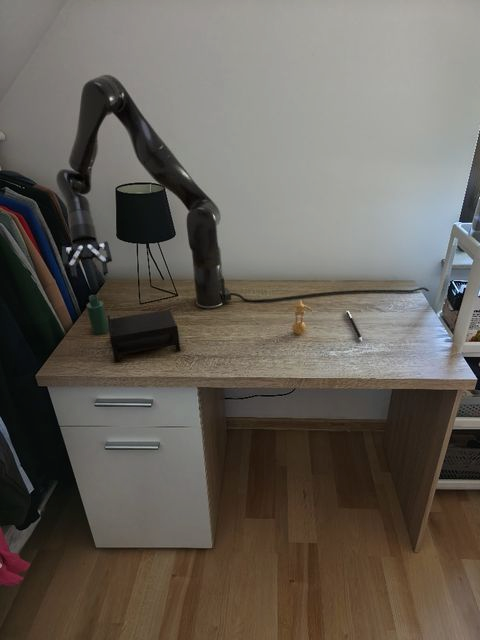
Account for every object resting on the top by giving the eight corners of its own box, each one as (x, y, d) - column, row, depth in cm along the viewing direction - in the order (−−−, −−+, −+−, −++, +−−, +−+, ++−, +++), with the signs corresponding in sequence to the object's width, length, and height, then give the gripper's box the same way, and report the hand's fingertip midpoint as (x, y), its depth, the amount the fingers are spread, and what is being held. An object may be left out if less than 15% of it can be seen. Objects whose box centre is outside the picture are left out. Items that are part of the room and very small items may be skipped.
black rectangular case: (172, 329, 147) (169, 305, 143) (180, 351, 137) (177, 325, 132) (112, 339, 142) (107, 315, 138) (115, 362, 132) (109, 337, 128)
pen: (348, 312, 155) (348, 308, 154) (363, 342, 139) (363, 339, 138) (345, 312, 155) (345, 309, 154) (360, 342, 139) (360, 339, 138)
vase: (108, 325, 150) (101, 292, 144) (109, 333, 146) (102, 298, 140) (92, 328, 149) (84, 294, 143) (92, 335, 145) (84, 301, 139)
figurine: (312, 330, 146) (313, 294, 139) (313, 340, 141) (315, 303, 134) (284, 329, 146) (285, 294, 140) (285, 340, 141) (285, 303, 134)
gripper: (55, 225, 145) (63, 274, 142) (104, 220, 149) (113, 268, 146) (60, 236, 152) (68, 284, 149) (106, 231, 156) (115, 277, 153)
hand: (90, 276), depth 148 cm, fingers open, 8 cm apart
